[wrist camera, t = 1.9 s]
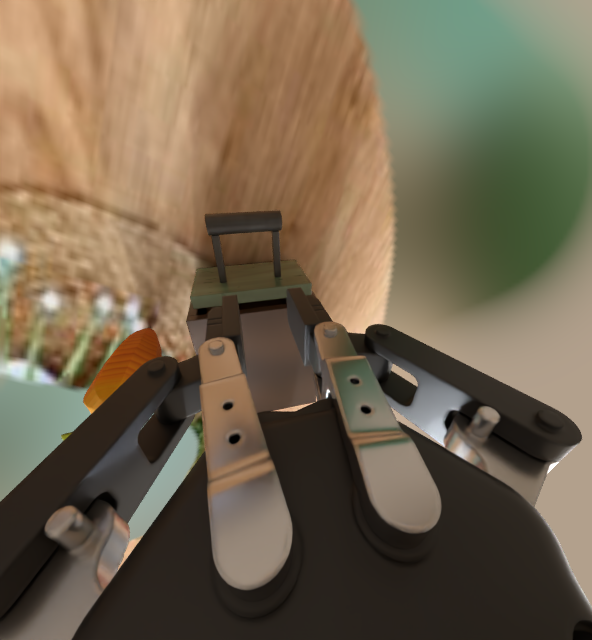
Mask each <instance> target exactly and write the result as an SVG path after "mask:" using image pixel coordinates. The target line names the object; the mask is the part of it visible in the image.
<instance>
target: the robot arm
mask: <svg viewBox="0 0 592 640" xmlns="http://www.w3.org/2000/svg"><path fill="white" fill-rule="evenodd" d="M286 294H287V318H288V323H289V327H290V329H291V332H292V335H293V337H294V340H295V342H296V345H297V348H298V350H299V353H300V356H301V358H302V361H303V363H304V366H310V365H311V366H312V368H313V381H314V386H315V391H316V396H317V402H315V403H313V404H311V405H308V406H306V407H304V408H302V409H300V410H298V411H294V412H281V411H263V412H258V413H257V412H256V409H255V405H254V402H253V399H252V396H251V392H250V389H249V386H248V383H247V379H246V377H247V368H246V359H245V350H244V341H243V331H242V324H241V317H240V311H239V304H238V298H237V295H230V296H222V306H218V307H213V308H212V309H211V310H210V311H209V312H208V317H207V328H206V338H205V342H204V343H203V344H202V345H201V346H200V347H199V350H198V354H197V355H196V356H194V357H192V358H190V359H188V360H185V361H182V362H180V363H178V362H177V360H176V359H174V358H172V357H168V356H163V357H157V358H154V359H151V360H149V361H147V362H146V363H144V364H143V365H142V366H140V367H139V368H138V369H137V370H136V371H135V372H134V373H133V374H132V375H131V376H130V377H129V378H128V379H127V380H126V381H125V382H124V383H123V384H122V385H121V386H120V387H119V388H118V389H117V390H116V391H115V392H114V393H113V394H112V395H110V396H109V397H108V398H107V399H106V400H105V401H104V402H103V403H102V404H101V405H100V406H99V407H98V408H97V409H96V410H95V411H94V412H93V413H92V414H91V415H90V416H89V417H88V418H87V419H86V420H85V421H84V422H83V423H82V424H80V425H79V426H78V427H77V428H76V430H74V431H73V432H72V433H71V434H70V435H69V436H68V437H67V438H66V439H65V440H64V441H63V442H62V443H61V444H60V445H59V446H58V447H57V448H56V449H55V450H54V451H53V452H52V453H51V454H50V455H48V456H47V457H46V458H45V459H44V460H43V461H42V462H41V463H40V464H39V465H38V466H37V467H36V468H35V469H34V470H33V471H32V472H31V473H30V474H29V475H28V476H27V477H26V478H25V479H24V480H23V481H21V483H20V484H18V485H17V486H16V487H15V488H14V489H13V490H12V491H11V492H10V493H9V494H8V495H7V496H6V497H5V498H4V499H3V500H2V501H1V502H0V640H592V606H591V605H590V603H589V601H588V600H587V598H586V596H585V594H584V592H583V591H582V589H581V587H580V586H579V584H578V582H577V580H576V578H575V576H574V574H573V572H572V570H571V568H570V565H569V563H568V561H567V558H566V556H565V554H564V551H563V549H562V547H561V545H560V543H559V541H558V539H557V538H556V536H555V534H554V532H553V531H552V529H551V528H550V526H549V525H548V524H547V522H546V521H545V519H544V518H543V517H542V516H541V515H540V513H539V512H538V511H537V510H536V509H535V508H534V506H535V504H536V501H537V498H538V496H539V493H540V490H541V488H542V486H543V483H544V480H545V478H546V475H547V473H548V472H549V471H550V470H551V469H552V468H553V467H554V466H555V465H556V464H557V463H558V462H559V461H561V459H563V458H564V457H565V456H566V455H567V454H568V453H569V452H570V451H571V450H572V449H573V448H574V447H575V446H576V445H577V444H579V443H580V441H581V439H582V435H581V432H580V430H579V428H578V427H577V426H576V424H575V423H574V422H573V421H572V420H570V419H569V418H568V417H567V416H565V415H564V414H563V413H561V412H559V411H558V410H555V409H554V408H552V407H550V406H548V405H546V404H544V403H542V402H540V401H538V400H536V399H534V398H532V397H530V396H528V395H526V394H524V393H522V392H520V391H518V390H516V389H514V388H512V387H510V386H508V385H506V384H504V383H502V382H500V381H498V380H496V379H494V378H492V377H490V376H488V375H486V374H484V373H482V372H480V371H478V370H476V369H474V368H472V367H470V366H468V365H466V364H464V363H462V362H460V361H458V360H456V359H454V358H452V357H450V356H448V355H446V354H444V353H442V352H440V351H438V350H436V349H434V348H432V347H430V346H427V345H426V344H424V343H422V342H420V341H418V340H416V339H414V338H412V337H410V336H408V335H406V334H404V333H402V332H400V331H398V330H396V329H394V328H392V327H390V326H387V325H382V324H375V325H371V326H369V327H368V328H367V329H366V332H365V334H357V333H348V332H347V331H346V329H345V327H344V326H342V325H341V324H339V323H336V322H333V321H332V320H331V318H330V317H329V315H328V313H327V312H326V310H324V307H323V306H322V304H321V303H320V301H319V300H318V299H317V298H315V297H314V296H312V295H308V296H306V295H305V293H304V292H303V290H302V288H301V287H299V288H291V289H287V292H286ZM392 364H395V365H397V366H399V367H400V368H402V369H403V370H405V371H407V372H408V373H410V374H411V375H413V376H414V377H415V378H416V380H417V382H418V387H416V386H415V385H413V384H412V383H410V382H409V381H407V380H405V379H404V378H402V377H401V376H399V375H397V374H396V373H394V372H392V371H391V368H392ZM391 407H392V408H393V409H394V410H396V411H397V412H398V413H400V414H401V415H402V416H404V417H405V418H406V419H408V420H409V421H411V422H412V423H413V424H415V425H416V426H417V427H419V428H420V429H421V430H423V431H424V432H426V433H427V434H429V435H430V436H431V437H433V438H434V439H435V440H437V441H438V442H439V443H441V444H442V445H443V446H445V448H446V449H445V448H444V447H442V446H440V445H438V444H437V443H435V442H433V441H432V440H430V439H428V438H426V437H425V436H423V435H421V434H419V433H418V432H416V431H414V430H413V429H411V428H409V427H407V426H406V425H404V424H402V423H401V422H398V421H397V420H396V417H395V415H394V414H393V411H392V409H391ZM200 411H202V420H203V431H204V441H205V452H204V453H203V454H202V456H201V457H200V458H199V460H198V461H197V463H196V464H195V465H194V467H193V468H192V469H191V471H190V472H189V474H188V475H187V476H186V478H185V479H184V481H183V482H182V483H181V485H180V486H179V487H178V489H177V490H176V492H175V493H174V494H173V496H172V497H171V499H170V500H169V501H168V503H167V504H166V505H165V507H164V508H163V510H162V511H161V512H160V514H159V515H158V517H157V518H156V519H155V520H154V522H153V523H152V525H151V526H150V527H149V529H148V530H147V532H146V533H145V534H144V536H143V537H142V538H141V540H140V541H139V543H138V544H137V545H136V547H135V548H134V549H133V551H132V552H131V554H130V555H129V556H128V558H127V559H126V560H125V562H124V563H123V565H122V566H121V567H120V569H119V570H118V567H119V565H120V564H121V562H122V560H123V557H124V553H125V551H126V548H127V546H128V542H129V538H130V530H129V526H128V522H129V520H130V519H131V517H132V515H133V514H134V512H135V511H136V509H137V508H138V506H139V504H140V503H141V501H142V500H143V498H144V497H145V495H146V494H147V492H148V490H149V489H150V487H151V486H152V484H153V482H154V481H155V479H156V478H157V476H158V475H159V473H160V471H161V470H162V468H163V467H164V465H165V463H166V462H167V460H168V459H169V457H170V456H171V454H172V452H173V451H174V449H175V448H176V446H177V444H178V443H179V441H180V440H181V438H182V437H183V435H184V433H185V432H186V430H187V429H188V427H189V426H190V424H191V422H192V421H193V419H194V417H195V414H196V413H198V412H200ZM153 413H154V414H153ZM152 414H153V415H152ZM151 416H152V417H151ZM150 417H151V418H150ZM149 418H150V419H149ZM147 421H148V422H147ZM146 422H147V423H146ZM145 423H146V424H145ZM143 426H144V427H143ZM142 427H143V428H142ZM141 428H142V429H141ZM117 570H118V571H117Z"/></svg>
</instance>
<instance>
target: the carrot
mask: <svg viewBox="0 0 592 640" xmlns="http://www.w3.org/2000/svg"><path fill="white" fill-rule="evenodd" d="M157 357H162V356H161V347H160V344H159V341H158V338H157V335H156V333H155V332H154V330H152V329H150V328H146V329H142V330H139V331H137V332H135V333H133V334H131V335H130V336H129V337H128V338H127V339H126V340H125V341H123V342H122V344H121V345H120V346H119V347H118V348H117V349H116V350H115V351H114V353H113V354H112V355H111V356H110V358H109V359H108V360H107V362H106V363H105V364H104V366H103V367H102V369H101V370H100V372H99V373H98V375H97V376H96V378H95V379H94V381H93V383H92V384H91V386H90V387H89V389H88V391H87V392H86V394H85V396H84V400H83V402H84V404H85V405H86V406H87V408H88V409H89V411H90V412H91V414H92V413H93V412H94V411H95V410H96V409H97V408H98V407H99V406H100V405H101V404H102V403H103V402H104V401H105V400H106V399H107V398H108V397H109V396H110V395H112V394H113V393H114V392H115V391H116V390H117V389H118V388H119V387H120V386H121V385H122V384H123V383H124V382H125V381H126V380H127V379H128V378H129V377H130V376H131V375H132V374H133V373H134V372H135V371H136V370H137V369H138V368H139V367H140V366H142V365H143V364H144V363H146V362H147V361H149V360H151V359H154V358H157ZM71 433H72V432H71ZM71 433H66V434H63V435H61V437H62V439H63V440H65V439H66V438H67V437H68V436H69V435H70V434H71Z"/></svg>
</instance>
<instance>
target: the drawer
mask: <svg viewBox="0 0 592 640" xmlns="http://www.w3.org/2000/svg"><path fill="white" fill-rule="evenodd" d="M205 223H206V228H207V232H208V235H209V236H211V235H212V236H211V237H212V242H213V248H214V253H215V258H216V263H217V267H212V268H201V269H197V270H196V274H195V279H194V283H193V287H192V292H191V296H190V299H191V302H192V306H193V309H200V308H207V310H206V314H208V312H209V311H210V310H211V309H212V308H213V307H218V306H222V296H230V295H237V298H238V304H239V310H242V309H250V308H258V307H266V306H273V305H281V304H287V294H286V292H287V289H291V288H299V287H301V288H302V290H303V292H304V293H305V295H311V291H312V283H311V282H310V280H309V279H308V277H307V276H306V274H305V273H304V271H303V270H302V268H301V267H300V265H299V264H298V263H297V261H296V260H286V261H280V240H279V231H280V230H282V216H281V212H280V210H274V211H256V212H238V213H220V214H206V215H205ZM266 231H271V233H272V249H273V262H265V263H254V264H243V265H233V266H224V260H223V254H222V249H221V243H220V237H219V235H224V234H238V233H252V232H266Z"/></svg>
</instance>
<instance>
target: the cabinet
mask: <svg viewBox="0 0 592 640" xmlns="http://www.w3.org/2000/svg"><path fill="white" fill-rule="evenodd" d="M311 295H312V296H314V297H315V298H316V296H315V295H314V293H313V292H312V291H311ZM306 296H308V295H306ZM206 310H207V308H200V309H193V306H192V302H191V303H190V307H189V312H188V317H187V321H186V322H187V326H188V329H189V332H190V336H191V339H192V342H193V346H194V349H195V352H196V355H197V354H198V350H199V347H200V346H201V345H202V344H203V343H204V342H205V338H206V328H207V317H208V314H206ZM239 311H240V317H241V324H242V331H243V341H244V350H245V359H246V368H247V377H246V379H247V383H248V386H249V389H250V392H251V396H252V399H253V402H254V405H255V409H256V412H257V413H258V412H263V411H274V410H279V409H284V408H288V407H293V406H298V405H303V404H308V403H313V402H316V391H315V386H314V381H313V368H312V366H311V365H310V366H304V363H303V361H302V358H301V356H300V353H299V350H298V348H297V345H296V342H295V340H294V337H293V335H292V332H291V329H290V327H289V323H288V318H287V304H281V305H273V306H266V307H258V308H250V309H242V310H239Z"/></svg>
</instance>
